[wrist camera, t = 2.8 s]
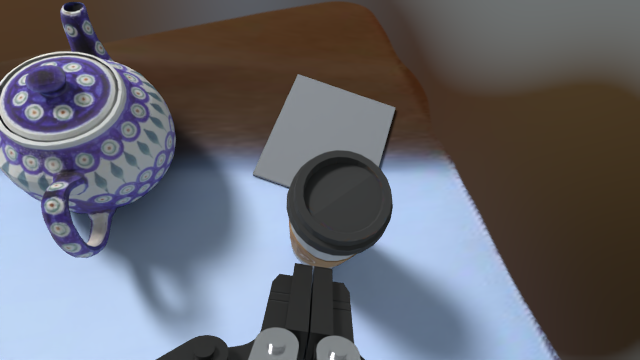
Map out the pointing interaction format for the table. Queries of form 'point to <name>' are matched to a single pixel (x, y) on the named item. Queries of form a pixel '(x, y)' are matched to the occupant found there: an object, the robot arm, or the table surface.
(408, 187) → the table surface
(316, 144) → the mat
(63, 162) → the teapot
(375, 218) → the coffee cup
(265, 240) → the table surface
